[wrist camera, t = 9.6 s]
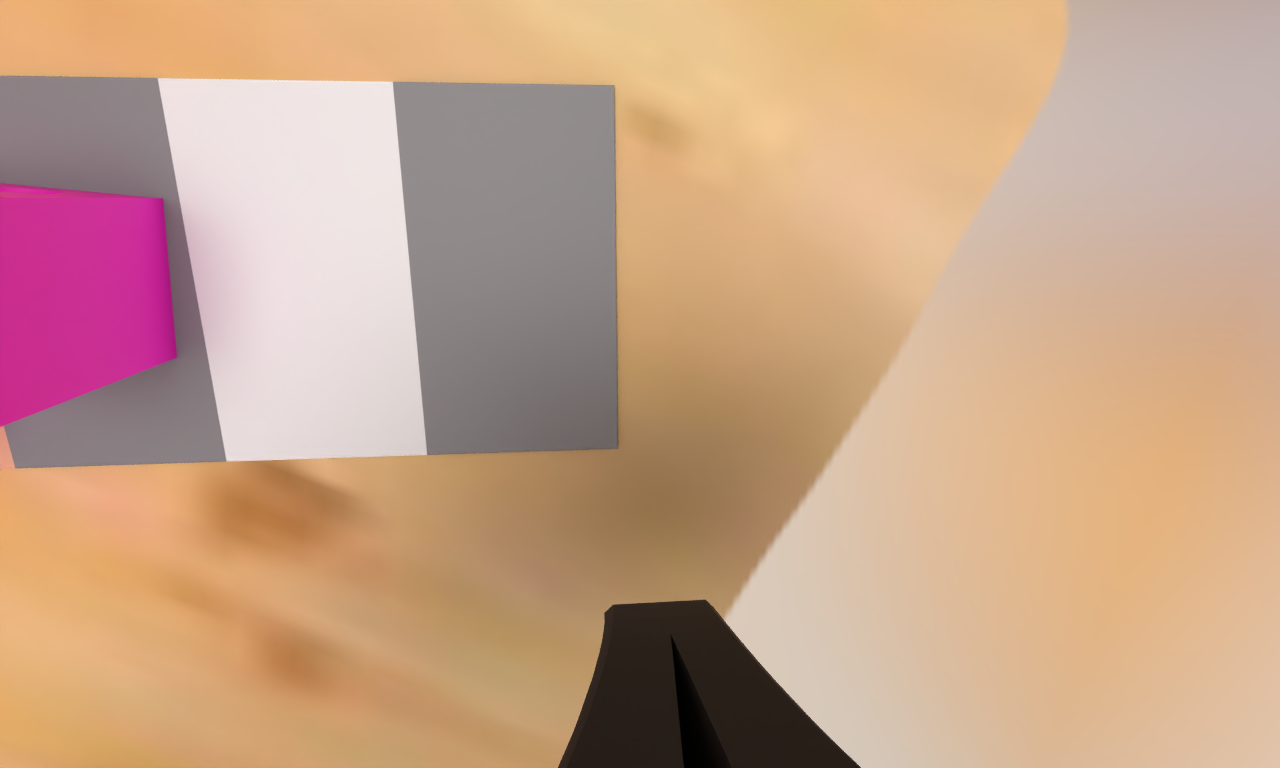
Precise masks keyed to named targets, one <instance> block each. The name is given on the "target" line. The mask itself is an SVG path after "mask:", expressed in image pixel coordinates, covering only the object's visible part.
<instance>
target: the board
mask: <svg viewBox="0 0 1280 768" xmlns="http://www.w3.org/2000/svg"><path fill="white" fill-rule="evenodd" d="M0 183H4V184H15V185H26V186H36V187H47V188H58V189H68V190H79V191H89V192H100V193H111V194H121V195H132V196H143V197H153V198H163V202H164V213H165V225H166V236H167V248H168V259H169V271H170V282H171V294H172V305H173V317H174V328H175V339H176V351H177V358H175V359H173V360H170V361H167V362H165V363H162V364H160V365H157V366H155V367H152V368H150V369H147V370H144V371H142V372H139V373H137V374H134V375H132V376H129V377H127V378H124V379H122V380H119V381H116V382H114V383H111V384H109V385H106V386H104V387H101V388H99V389H96V390H93V391H91V392H88V393H86V394H83V395H81V396H78V397H76V398H73V399H71V400H68V401H65V402H63V403H60V404H58V405H55V406H53V407H50V408H48V409H45V410H42V411H40V412H37V413H35V414H32V415H30V416H27V417H25V418H22V419H20V420H17V421H14V422H12V423H9V424H7V425H4V426H2V427H0V469H12V468H43V467H73V466H103V465H134V464H164V463H195V462H225V461H255V460H286V459H316V458H347V457H377V456H407V455H438V454H468V453H499V452H529V451H559V450H590V449H618V440H617V334H616V227H615V120H614V85H553V84H489V83H426V82H363V81H299V80H236V79H172V78H109V77H45V76H0Z"/></svg>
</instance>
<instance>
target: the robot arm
mask: <svg viewBox="0 0 1280 768" xmlns="http://www.w3.org/2000/svg"><path fill="white" fill-rule="evenodd" d="M558 768H861V767H860V766H859V765H857V763H856V762H854V761H853V760H852V759H851V758H850V757H849V756H848V755H847V754H846V753H845V752H844V751H843V750H842V749H841V748H840V747H839V746H838V745H837V744H836V743H835V742H834V741H833V740H831V739H830V737H829V736H827V735H826V733H825V732H823V730H822V729H820V728H819V726H818V725H816V723H815V722H814V721H813V720H812V719H811V718H810V717H809V716H808V715H807V714H806V713H805V712H804V711H803V710H802V709H801V708H800V707H799V705H797V703H795V701H794V700H793V699H792V698H791V697H790V696H789V695H788V694H787V693H786V692H785V691H784V690H783V688H782V687H781V686H780V685H779V684H778V683H777V682H776V681H775V680H774V679H773V678H772V676H771V675H770V674H769V673H768V672H767V671H766V670H765V669H764V667H763V666H762V665H761V664H760V663H759V662H758V661H757V660H756V658H755V657H754V656H753V655H752V654H751V652H750V651H749V650H748V649H747V648H746V647H745V645H744V644H743V643H742V642H741V641H740V639H739V638H738V637H737V636H736V635H735V633H734V632H733V631H732V630H731V629H730V627H729V626H728V625H727V624H726V622H725V621H724V620H723V619H722V617H721V616H720V615H719V614H718V612H717V611H716V610H715V609H714V607H713V606H711V605H710V604H709V603H708V602H707V601H706V600H693V601H674V602H656V603H637V604H619V605H613V606H611V607H610V608H609V609H608V610H607V611H606V612H605V625H604V633H603V639H602V644H601V649H600V653H599V657H598V660H597V664H596V668H595V671H594V675H593V678H592V681H591V684H590V687H589V690H588V693H587V695H586V698H585V701H584V704H583V707H582V710H581V713H580V716H579V719H578V721H577V724H576V727H575V729H574V732H573V734H572V737H571V739H570V741H569V743H568V746H567V748H566V750H565V753H564V755H563V757H562V760H561V762H560V764H559V767H558Z"/></svg>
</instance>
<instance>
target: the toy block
mask: <svg viewBox="0 0 1280 768" xmlns="http://www.w3.org/2000/svg"><path fill="white" fill-rule="evenodd" d="M175 358H177V351H176V339H175V328H174V317H173V305H172V294H171V282H170V271H169V259H168V248H167V236H166V225H165V213H164V202H163V198H153V197H143V196H132V195H121V194H111V193H100V192H89V191H79V190H68V189H58V188H47V187H36V186H26V185H15V184H4V183H0V427H2V426H4V425H7V424H9V423H12V422H14V421H17V420H20V419H22V418H25V417H27V416H30V415H32V414H35V413H37V412H40V411H42V410H45V409H48V408H50V407H53V406H55V405H58V404H60V403H63V402H65V401H68V400H71V399H73V398H76V397H78V396H81V395H83V394H86V393H88V392H91V391H93V390H96V389H99V388H101V387H104V386H106V385H109V384H111V383H114V382H116V381H119V380H122V379H124V378H127V377H129V376H132V375H134V374H137V373H139V372H142V371H144V370H147V369H150V368H152V367H155V366H157V365H160V364H162V363H165V362H167V361H170V360H173V359H175Z"/></svg>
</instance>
